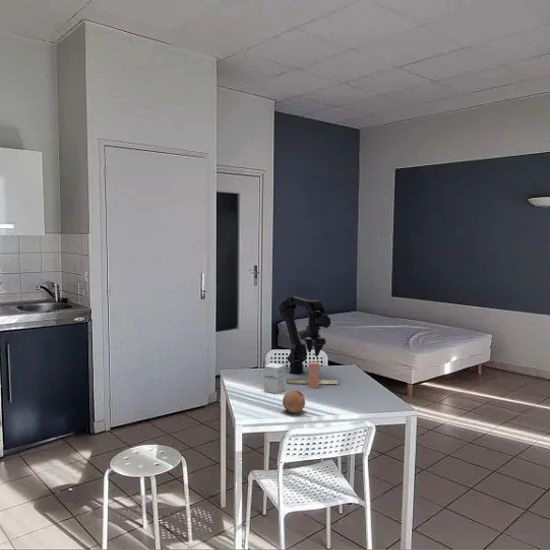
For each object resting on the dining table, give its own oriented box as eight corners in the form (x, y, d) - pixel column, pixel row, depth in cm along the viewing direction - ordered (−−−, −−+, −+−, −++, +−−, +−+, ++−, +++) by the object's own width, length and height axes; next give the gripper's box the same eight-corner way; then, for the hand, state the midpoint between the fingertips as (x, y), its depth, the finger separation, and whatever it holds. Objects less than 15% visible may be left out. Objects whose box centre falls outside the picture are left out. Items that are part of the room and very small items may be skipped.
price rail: (286, 382, 260) (287, 378, 260) (338, 383, 260) (338, 379, 260) (287, 384, 258) (287, 379, 257) (338, 385, 258) (339, 380, 257)
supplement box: (263, 391, 244) (264, 365, 243) (270, 387, 251) (271, 362, 250) (277, 394, 241) (277, 367, 240) (284, 390, 247) (285, 364, 246)
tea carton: (308, 385, 256) (308, 361, 255) (318, 385, 256) (318, 362, 255) (308, 387, 252) (309, 363, 251) (318, 388, 252) (319, 364, 251)
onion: (298, 416, 221) (307, 394, 223) (300, 418, 212) (309, 395, 214) (278, 407, 221) (287, 385, 223) (279, 409, 212) (288, 386, 214)
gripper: (292, 322, 271) (292, 351, 272) (306, 328, 254) (305, 359, 255) (312, 321, 275) (311, 350, 276) (326, 327, 257) (325, 358, 258)
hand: (312, 354), depth 266 cm, fingers open, 9 cm apart
